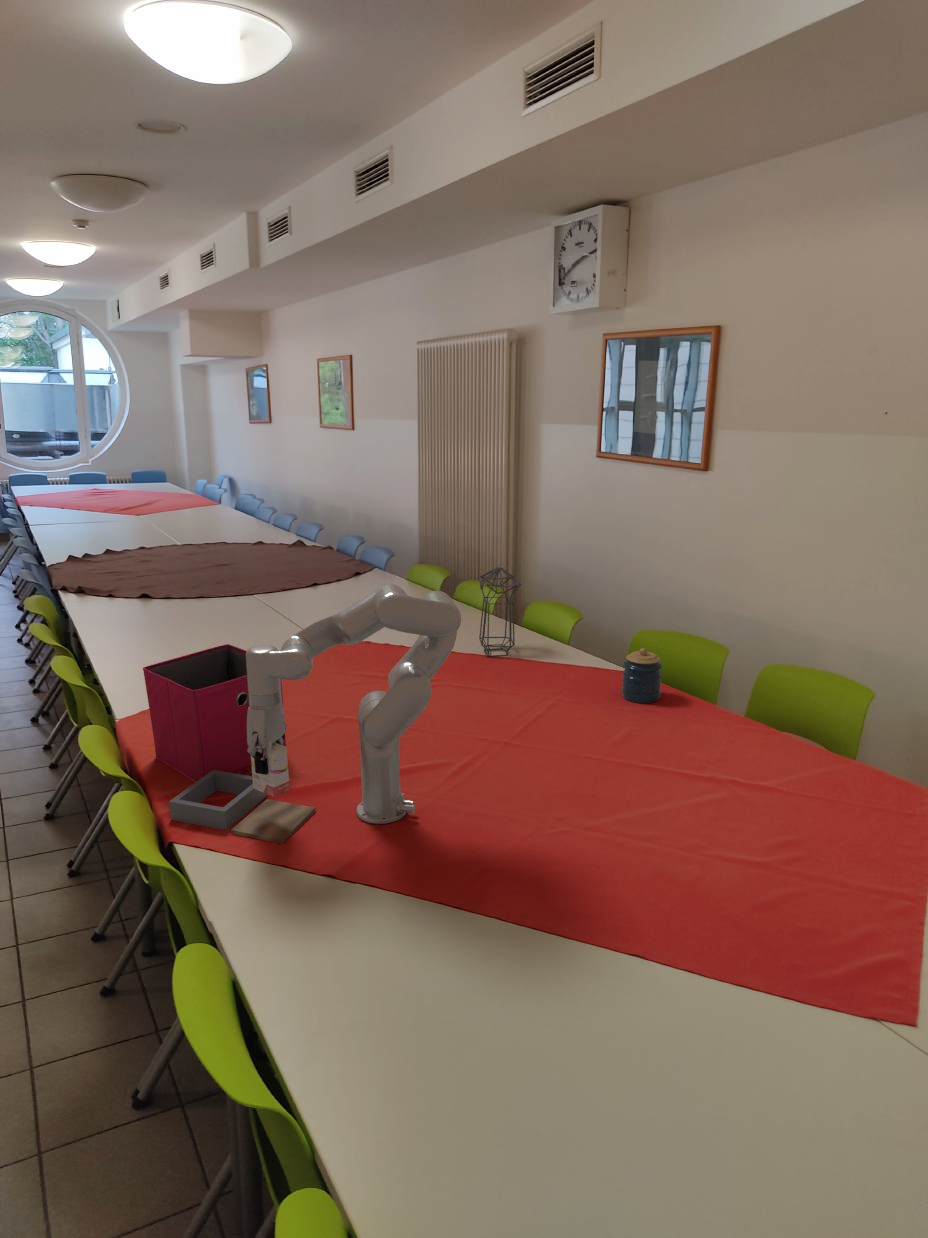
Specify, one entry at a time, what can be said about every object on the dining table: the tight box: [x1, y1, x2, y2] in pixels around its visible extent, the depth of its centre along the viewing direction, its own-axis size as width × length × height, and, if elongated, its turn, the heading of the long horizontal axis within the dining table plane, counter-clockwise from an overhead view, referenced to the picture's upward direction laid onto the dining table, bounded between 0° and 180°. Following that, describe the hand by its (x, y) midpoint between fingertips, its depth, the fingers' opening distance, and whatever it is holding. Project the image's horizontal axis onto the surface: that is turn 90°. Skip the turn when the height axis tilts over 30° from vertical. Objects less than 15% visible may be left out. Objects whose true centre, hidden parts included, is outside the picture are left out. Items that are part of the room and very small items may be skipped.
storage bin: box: [142, 643, 287, 784], centre depth 233 cm, size 28×29×28 cm
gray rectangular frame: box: [168, 770, 268, 831], centre depth 208 cm, size 16×18×5 cm
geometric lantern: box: [476, 566, 522, 657], centre depth 323 cm, size 16×16×35 cm
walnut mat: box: [230, 798, 316, 845], centre depth 202 cm, size 14×16×1 cm
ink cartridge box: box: [251, 740, 291, 799], centre depth 197 cm, size 9×5×15 cm, turn 51°
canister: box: [621, 647, 663, 704], centre depth 279 cm, size 13×13×18 cm
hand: (269, 766), depth 197 cm, fingers closed on ink cartridge box, 6 cm apart
